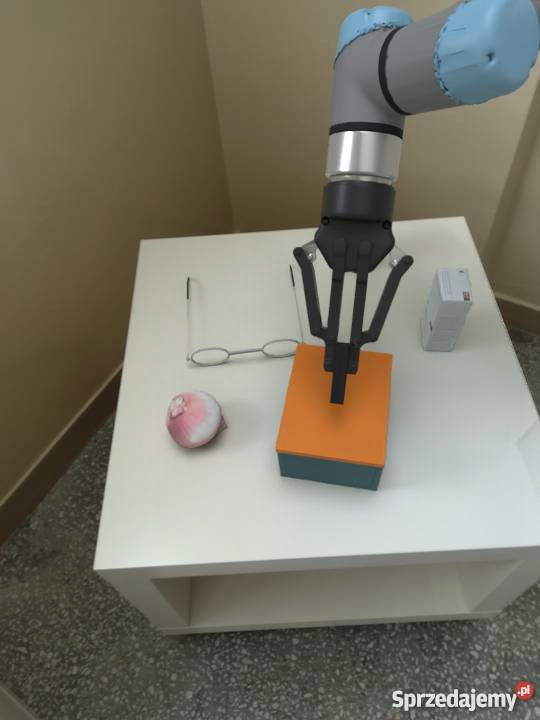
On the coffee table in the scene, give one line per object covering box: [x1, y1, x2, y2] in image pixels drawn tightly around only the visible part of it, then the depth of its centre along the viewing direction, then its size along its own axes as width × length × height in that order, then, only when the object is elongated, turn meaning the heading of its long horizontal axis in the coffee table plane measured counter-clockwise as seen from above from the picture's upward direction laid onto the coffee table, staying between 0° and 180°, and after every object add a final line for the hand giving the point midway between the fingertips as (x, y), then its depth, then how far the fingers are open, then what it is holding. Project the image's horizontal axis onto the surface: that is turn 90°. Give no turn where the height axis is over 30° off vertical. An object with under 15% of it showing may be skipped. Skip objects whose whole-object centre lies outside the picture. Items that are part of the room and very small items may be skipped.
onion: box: [165, 389, 228, 449], centre depth 72 cm, size 8×8×7 cm
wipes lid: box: [274, 342, 393, 469], centre depth 66 cm, size 16×13×1 cm
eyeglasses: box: [185, 264, 306, 367], centre depth 84 cm, size 18×19×4 cm
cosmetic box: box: [420, 267, 474, 352], centre depth 76 cm, size 6×4×12 cm
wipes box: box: [276, 452, 384, 492], centre depth 70 cm, size 16×13×8 cm
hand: (337, 400), depth 60 cm, fingers closed
